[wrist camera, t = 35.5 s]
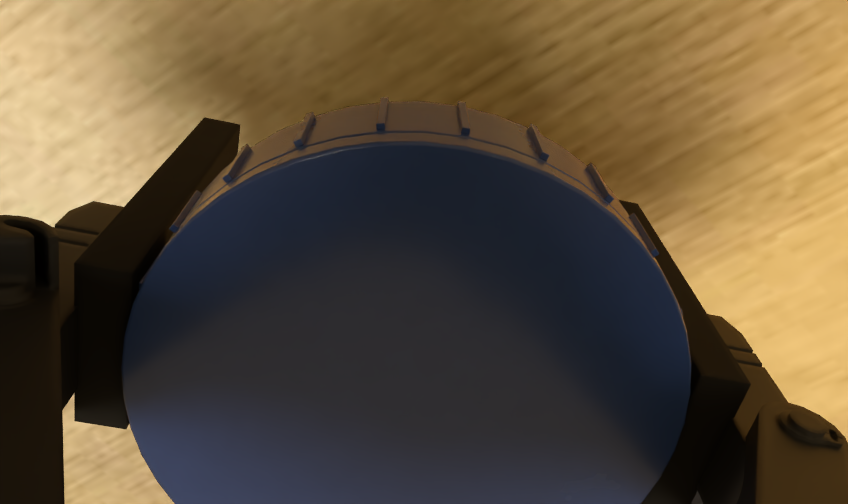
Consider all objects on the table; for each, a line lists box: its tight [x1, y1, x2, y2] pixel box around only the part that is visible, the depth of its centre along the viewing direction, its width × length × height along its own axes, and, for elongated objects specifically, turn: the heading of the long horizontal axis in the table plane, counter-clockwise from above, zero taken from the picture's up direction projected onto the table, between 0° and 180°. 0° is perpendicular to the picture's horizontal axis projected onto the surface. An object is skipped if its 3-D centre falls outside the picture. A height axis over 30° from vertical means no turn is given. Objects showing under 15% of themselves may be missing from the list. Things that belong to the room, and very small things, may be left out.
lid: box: [121, 97, 691, 504], centre depth 12 cm, size 8×8×2 cm
